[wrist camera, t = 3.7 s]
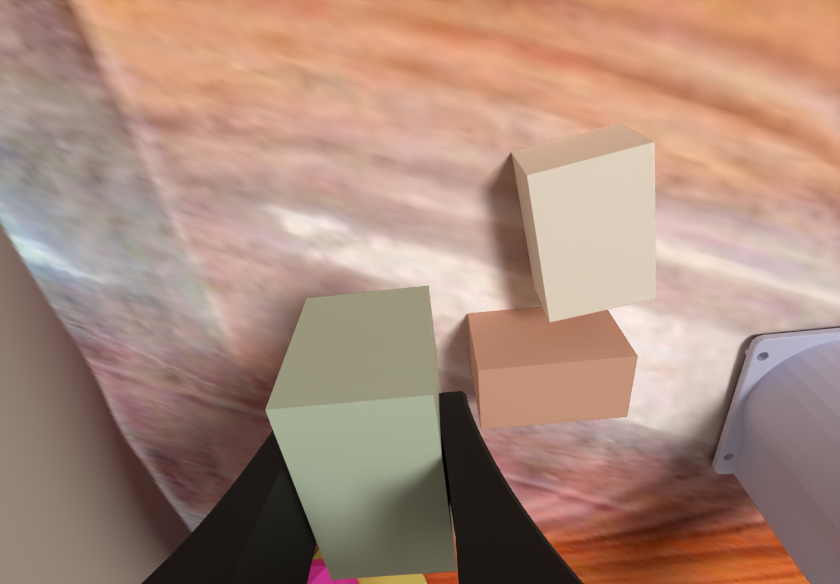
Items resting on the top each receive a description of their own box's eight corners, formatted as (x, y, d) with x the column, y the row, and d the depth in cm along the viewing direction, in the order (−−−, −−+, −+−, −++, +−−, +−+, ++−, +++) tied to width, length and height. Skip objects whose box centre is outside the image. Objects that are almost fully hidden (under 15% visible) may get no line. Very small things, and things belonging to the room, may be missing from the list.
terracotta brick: (601, 299, 21) (637, 356, 18) (594, 355, 23) (626, 416, 19) (467, 312, 21) (478, 370, 18) (470, 366, 23) (480, 429, 20)
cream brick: (625, 261, 20) (656, 298, 18) (532, 283, 21) (549, 322, 18) (618, 121, 17) (654, 141, 15) (510, 150, 18) (526, 175, 15)
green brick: (447, 444, 15) (457, 570, 12) (349, 452, 15) (331, 580, 12) (428, 285, 12) (433, 394, 9) (306, 298, 12) (265, 410, 9)
